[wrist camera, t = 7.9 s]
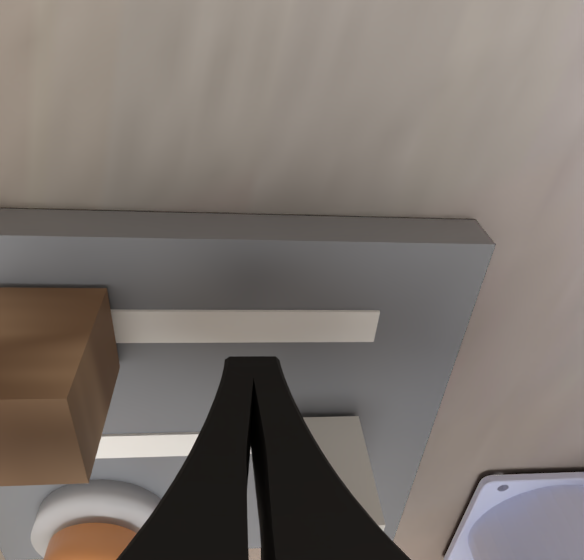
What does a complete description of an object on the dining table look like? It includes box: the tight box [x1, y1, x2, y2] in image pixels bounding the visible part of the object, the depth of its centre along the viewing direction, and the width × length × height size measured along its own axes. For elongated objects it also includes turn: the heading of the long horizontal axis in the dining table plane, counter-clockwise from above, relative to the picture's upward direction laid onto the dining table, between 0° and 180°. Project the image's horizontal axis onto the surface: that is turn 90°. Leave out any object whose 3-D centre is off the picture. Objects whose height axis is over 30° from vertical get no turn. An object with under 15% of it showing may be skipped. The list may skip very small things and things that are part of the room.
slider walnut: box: [0, 287, 120, 486], centre depth 13 cm, size 3×3×4 cm
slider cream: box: [303, 416, 385, 531], centre depth 17 cm, size 3×3×4 cm
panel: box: [0, 208, 496, 560], centre depth 18 cm, size 17×16×2 cm
